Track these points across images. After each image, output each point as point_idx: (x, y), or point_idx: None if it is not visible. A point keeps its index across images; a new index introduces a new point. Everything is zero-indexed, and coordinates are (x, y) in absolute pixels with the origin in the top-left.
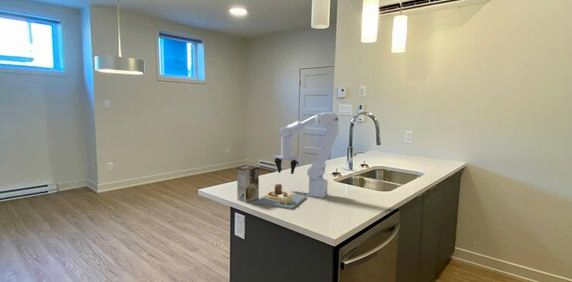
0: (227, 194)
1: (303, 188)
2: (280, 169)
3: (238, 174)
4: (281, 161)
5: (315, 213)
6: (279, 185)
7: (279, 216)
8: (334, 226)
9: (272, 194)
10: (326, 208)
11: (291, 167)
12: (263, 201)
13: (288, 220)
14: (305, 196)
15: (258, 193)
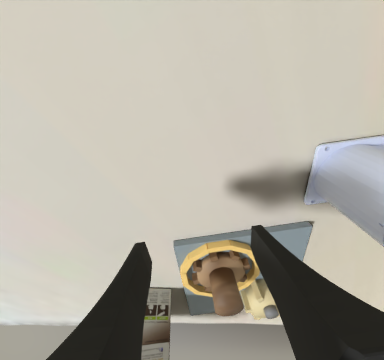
0: (71, 307)
1: (264, 102)
2: (141, 266)
3: None
4: (104, 354)
5: (343, 286)
6: (236, 309)
7: (273, 321)
8: (378, 306)
9: (209, 287)
10: (373, 255)
11: (283, 312)
12: (208, 307)
13: None
14: (309, 229)
15: (170, 305)
